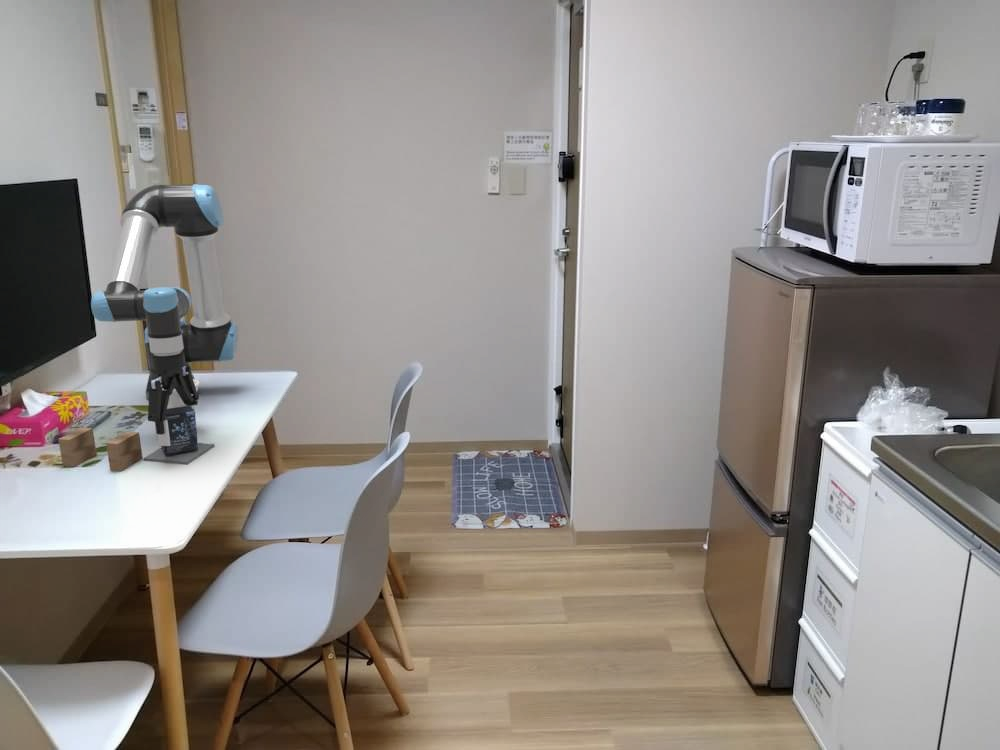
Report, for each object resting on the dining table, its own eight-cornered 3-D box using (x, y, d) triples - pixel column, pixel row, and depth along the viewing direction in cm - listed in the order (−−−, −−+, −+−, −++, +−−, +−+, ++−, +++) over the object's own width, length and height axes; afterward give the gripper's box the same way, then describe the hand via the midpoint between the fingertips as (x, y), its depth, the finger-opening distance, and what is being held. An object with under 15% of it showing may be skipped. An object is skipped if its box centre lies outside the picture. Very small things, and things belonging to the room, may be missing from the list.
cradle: (86, 453, 193) (81, 427, 191) (142, 458, 190) (138, 432, 188) (62, 465, 186) (58, 438, 184) (121, 471, 183) (117, 444, 181)
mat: (172, 442, 200) (172, 440, 200) (214, 446, 198) (214, 444, 198) (143, 460, 189) (143, 458, 189) (187, 464, 187) (187, 462, 187)
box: (165, 456, 189) (161, 415, 186) (161, 449, 194) (157, 409, 191) (198, 450, 193) (195, 410, 190) (193, 444, 198) (190, 404, 195)
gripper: (181, 340, 197) (190, 421, 204) (122, 363, 176) (135, 453, 182) (207, 341, 196) (216, 423, 202) (151, 365, 174) (163, 455, 181)
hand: (178, 437), depth 192 cm, fingers open, 10 cm apart
